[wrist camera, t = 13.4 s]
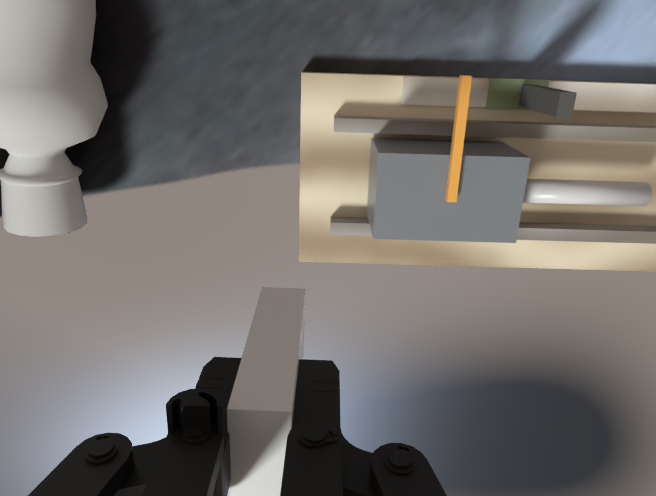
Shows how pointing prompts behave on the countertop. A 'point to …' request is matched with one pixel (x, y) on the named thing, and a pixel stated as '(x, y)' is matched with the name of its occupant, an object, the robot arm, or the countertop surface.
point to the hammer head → (548, 100)
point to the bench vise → (482, 125)
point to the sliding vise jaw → (468, 187)
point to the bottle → (46, 111)
